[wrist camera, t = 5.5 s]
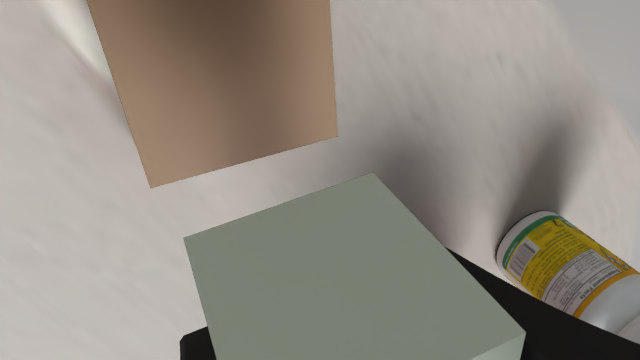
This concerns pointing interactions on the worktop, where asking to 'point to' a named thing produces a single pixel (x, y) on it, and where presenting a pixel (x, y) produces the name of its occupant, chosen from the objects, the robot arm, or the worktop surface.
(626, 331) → the supplement bottle
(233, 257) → the sage block
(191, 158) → the walnut block
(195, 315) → the worktop surface
